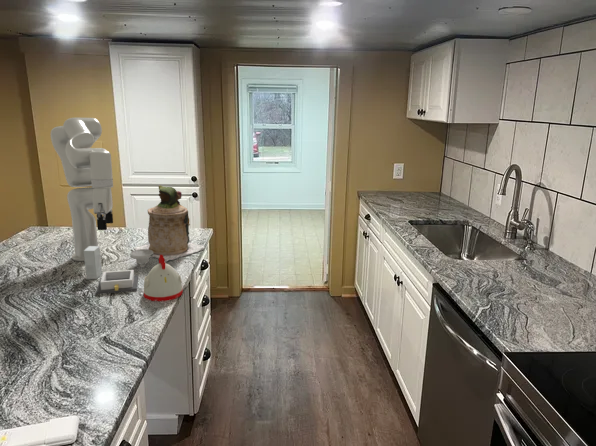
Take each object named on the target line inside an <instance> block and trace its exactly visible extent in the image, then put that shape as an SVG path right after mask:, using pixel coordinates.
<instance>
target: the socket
mask: <svg viewBox="0 0 596 446" xmlns="http://www.w3.org/2000/svg"><path fill="white" fill-rule="evenodd" d="M138 282H139V274H137V275H136V274H135V270H134V269H125V270H111V271H102V275H101V277H100V278H99V281H98V284H97V287H96V291H95V294H96V295H103V294H105V295H106V294H116V293H128V292H137V291H138Z"/></svg>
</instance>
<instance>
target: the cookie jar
mask: <svg viewBox="0 0 596 446" xmlns="http://www.w3.org/2000/svg"><path fill="white" fill-rule="evenodd" d="M158 192H159V194H158V196H159V199H160V202H159V203H158V204H156V206H154V207H150V208H148V209H147V214H148V217H149V218H148V220H149V221H148V227H147V230H148V232H147V241H148V243H149V244H144V245H140V246H134V247H133V248H132V250H134V251H135V250H140V249H147V250H152V251H153V256H152V257H151V258H156V259H158V260H159V256H160V255H163V258H164V260H165V263H167V262H168V261H174V260H176V259H178V258H183V257H186V256H189V255H192V254H195V253H199V252H202V251H203V250H204V249H205V246H204V245H202V244H197V243H193V242H190V231H189V227H190V225H191V224H190V217H189V211H188V208H187V207H185V206H183V204H180V203H181V202H180V199H182V197H183V196H182V192H181V191H179V190H176V188H174V187H172V186H163V185H161V184H159V185H158Z"/></svg>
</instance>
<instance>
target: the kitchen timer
mask: <svg viewBox="0 0 596 446" xmlns="http://www.w3.org/2000/svg"><path fill="white" fill-rule="evenodd" d="M182 281H183V280H182V277H181V274H179V272H177V270H176V269H175V268H174V267H173V266H171V265H170V264H168V263H167V262H165V260H164V258H163V255H160V256H159V259H158V263H157V264H156V265H154V266H153V267H152V268H151V270H150V271H149V272H148V273H147V276H146V275H145V277H144V281H143V282H144V283H143V297H144V298H145V299H146V300H148V301H151V302H166V301H172V300H175V299H177V298H180V297H181V296H182V295H183V292H184V290H183V284H182V283H183V282H182Z"/></svg>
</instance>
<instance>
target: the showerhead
mask: <svg viewBox="0 0 596 446" xmlns="http://www.w3.org/2000/svg"><path fill="white" fill-rule="evenodd" d="M129 251H130V253H129V256H130V258H131V259H134V260H136V263H137V264H139V267H140V268H145V267H146V264H148V263H149V258H153V257H152V256H153V251H152V250H147V249H140V250H134V249H133V248H131V249H130V250H129Z"/></svg>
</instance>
